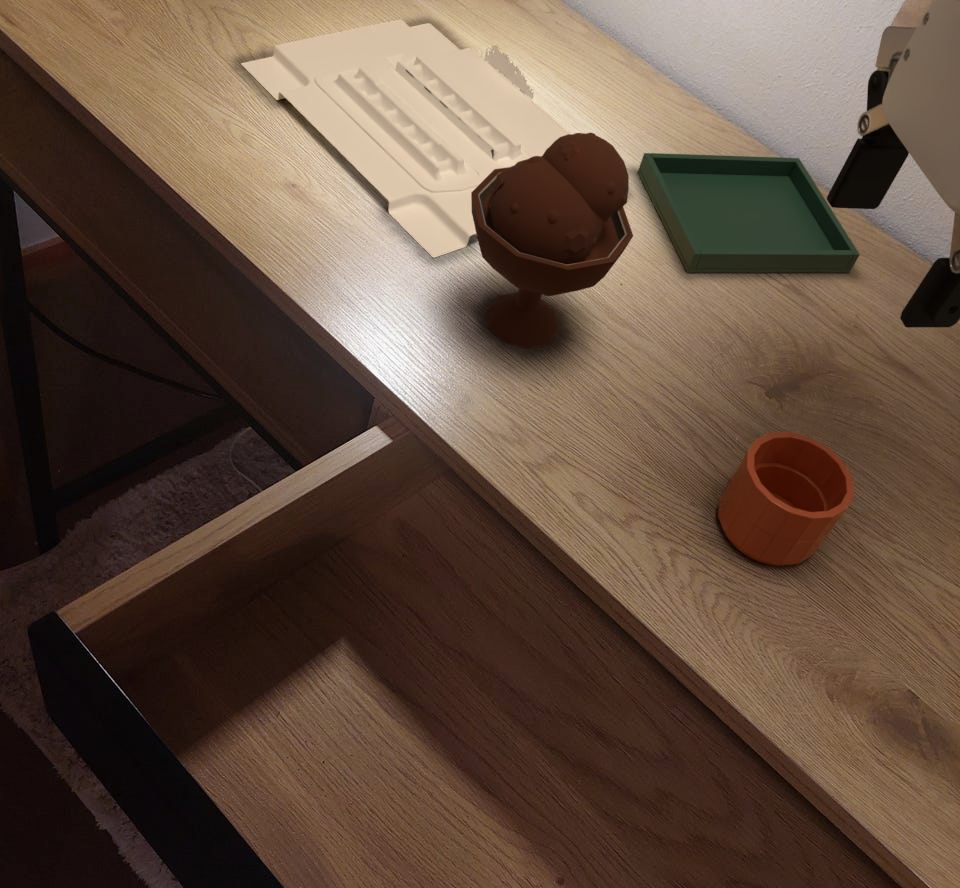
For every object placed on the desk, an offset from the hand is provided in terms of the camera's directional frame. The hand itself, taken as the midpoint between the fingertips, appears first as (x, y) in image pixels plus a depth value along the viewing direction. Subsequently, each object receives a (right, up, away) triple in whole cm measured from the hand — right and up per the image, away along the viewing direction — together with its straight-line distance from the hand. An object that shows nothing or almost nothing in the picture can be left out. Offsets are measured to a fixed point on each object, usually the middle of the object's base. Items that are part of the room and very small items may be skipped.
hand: (886, 261), depth 58 cm
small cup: (-3, -14, +13) cm, 19 cm away
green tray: (0, +13, +33) cm, 36 cm away
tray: (-26, +21, +33) cm, 47 cm away
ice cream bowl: (-19, +1, +21) cm, 28 cm away
